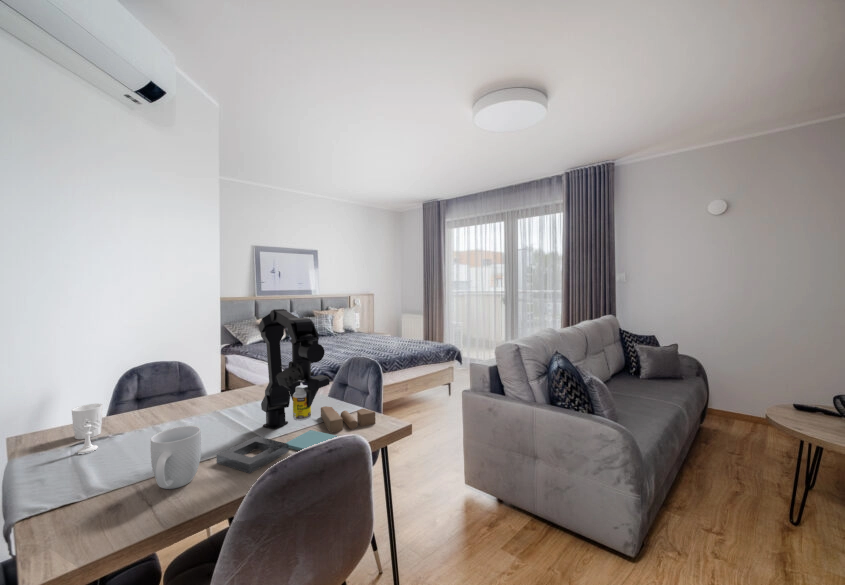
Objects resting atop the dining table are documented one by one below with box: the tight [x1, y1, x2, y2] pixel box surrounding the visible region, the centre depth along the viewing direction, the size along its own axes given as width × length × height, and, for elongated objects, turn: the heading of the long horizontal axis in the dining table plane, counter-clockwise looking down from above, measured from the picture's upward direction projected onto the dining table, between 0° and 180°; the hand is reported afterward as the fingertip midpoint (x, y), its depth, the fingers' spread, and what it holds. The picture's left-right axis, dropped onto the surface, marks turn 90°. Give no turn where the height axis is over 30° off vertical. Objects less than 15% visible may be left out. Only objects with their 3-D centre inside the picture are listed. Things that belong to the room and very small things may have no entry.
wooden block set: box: [320, 406, 376, 433], centre depth 137 cm, size 17×6×18 cm
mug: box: [150, 425, 202, 490], centre depth 92 cm, size 15×11×13 cm
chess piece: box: [76, 419, 99, 453], centre depth 113 cm, size 5×5×10 cm
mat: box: [285, 429, 338, 451], centre depth 118 cm, size 12×12×1 cm
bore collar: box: [216, 435, 290, 474], centre depth 108 cm, size 14×14×2 cm
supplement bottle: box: [292, 384, 312, 422], centre depth 116 cm, size 6×6×10 cm
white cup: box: [71, 403, 103, 440], centre depth 125 cm, size 8×8×10 cm
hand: (302, 405), depth 116 cm, fingers closed on supplement bottle, 5 cm apart
